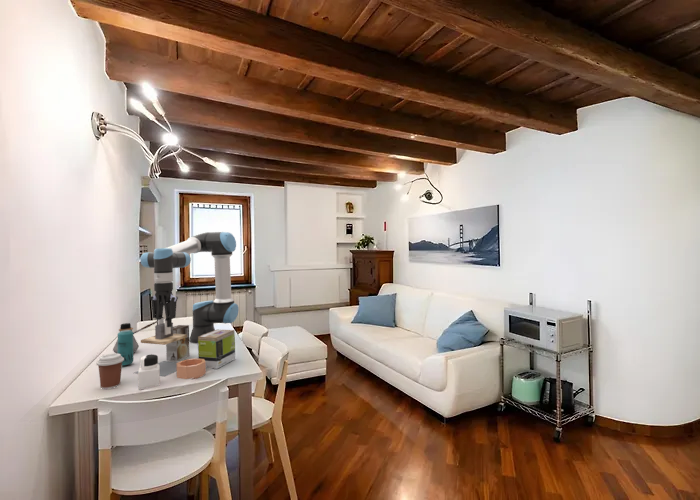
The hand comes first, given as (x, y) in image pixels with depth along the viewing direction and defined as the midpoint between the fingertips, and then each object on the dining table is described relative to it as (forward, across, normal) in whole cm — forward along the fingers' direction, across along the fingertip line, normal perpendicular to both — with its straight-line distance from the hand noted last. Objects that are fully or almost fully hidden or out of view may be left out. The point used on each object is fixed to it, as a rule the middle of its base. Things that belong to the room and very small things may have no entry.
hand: (164, 333), depth 156 cm
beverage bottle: (+16, -21, -1) cm, 27 cm away
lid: (+3, 0, 0) cm, 3 cm away
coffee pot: (+17, -37, +20) cm, 45 cm away
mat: (+16, 0, 0) cm, 16 cm away
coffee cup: (+16, -6, -21) cm, 27 cm away
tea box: (+17, +18, +13) cm, 28 cm away
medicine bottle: (+16, +9, -17) cm, 25 cm away
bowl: (+16, +17, -3) cm, 24 cm away
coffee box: (+17, -5, +14) cm, 22 cm away
